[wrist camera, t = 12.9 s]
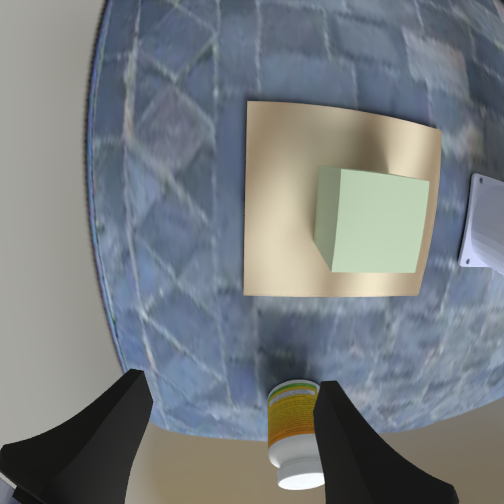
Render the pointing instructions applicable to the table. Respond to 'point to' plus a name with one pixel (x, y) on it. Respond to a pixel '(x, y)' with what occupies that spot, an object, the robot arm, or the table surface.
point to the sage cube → (369, 220)
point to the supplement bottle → (294, 435)
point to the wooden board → (305, 193)
